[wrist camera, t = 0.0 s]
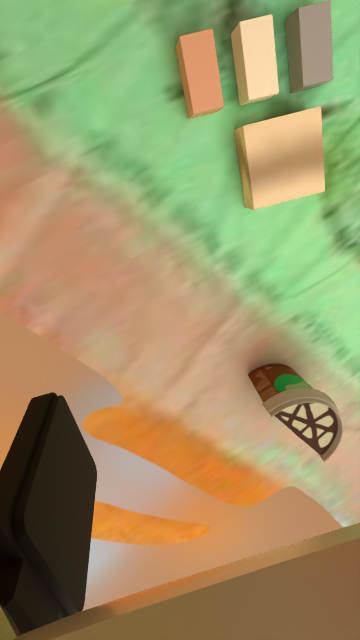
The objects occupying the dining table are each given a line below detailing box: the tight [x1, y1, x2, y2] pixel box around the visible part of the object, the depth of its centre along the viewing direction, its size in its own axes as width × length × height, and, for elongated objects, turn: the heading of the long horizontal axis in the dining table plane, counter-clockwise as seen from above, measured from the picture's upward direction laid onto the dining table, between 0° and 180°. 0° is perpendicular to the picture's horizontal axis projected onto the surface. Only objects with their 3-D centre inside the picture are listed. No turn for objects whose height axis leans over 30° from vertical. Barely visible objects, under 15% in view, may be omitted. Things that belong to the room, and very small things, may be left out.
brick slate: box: [285, 0, 333, 93], centre depth 33 cm, size 6×3×3 cm, turn 13°
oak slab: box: [234, 106, 325, 210], centre depth 36 cm, size 8×8×3 cm
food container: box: [248, 364, 343, 462], centre depth 44 cm, size 12×6×10 cm, turn 44°
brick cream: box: [231, 14, 279, 106], centre depth 32 cm, size 6×3×3 cm, turn 13°
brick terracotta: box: [175, 29, 224, 119], centre depth 32 cm, size 6×3×3 cm, turn 13°
